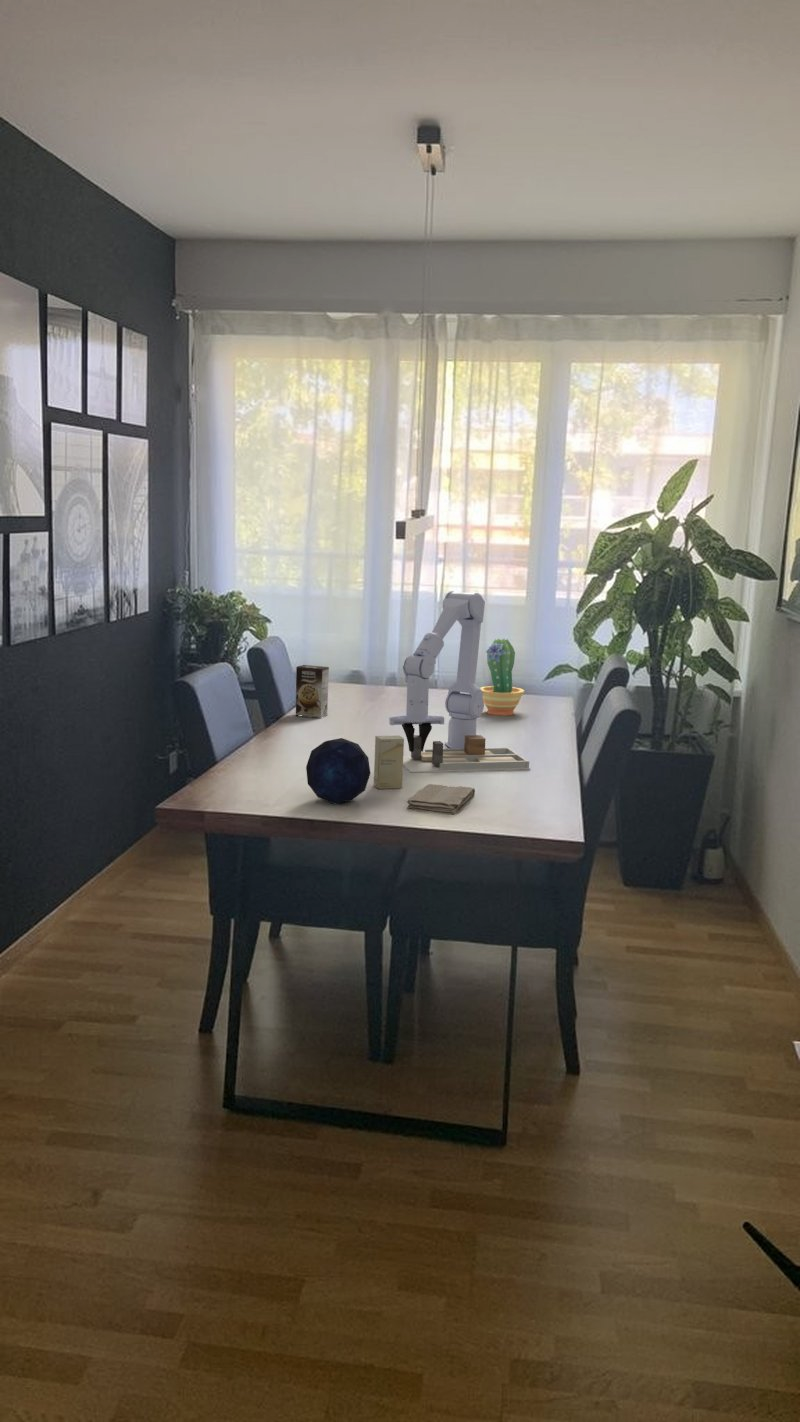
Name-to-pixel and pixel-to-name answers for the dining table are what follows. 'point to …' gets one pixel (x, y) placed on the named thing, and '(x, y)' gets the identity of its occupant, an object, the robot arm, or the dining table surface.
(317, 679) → the coffee box
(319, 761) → the decorative orb
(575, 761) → the dining table surface
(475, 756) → the lane board
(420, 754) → the strip
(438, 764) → the broken strip
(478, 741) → the walnut cube
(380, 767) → the skincare box
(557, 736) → the dining table surface
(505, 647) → the potted cactus
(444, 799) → the washcloth
